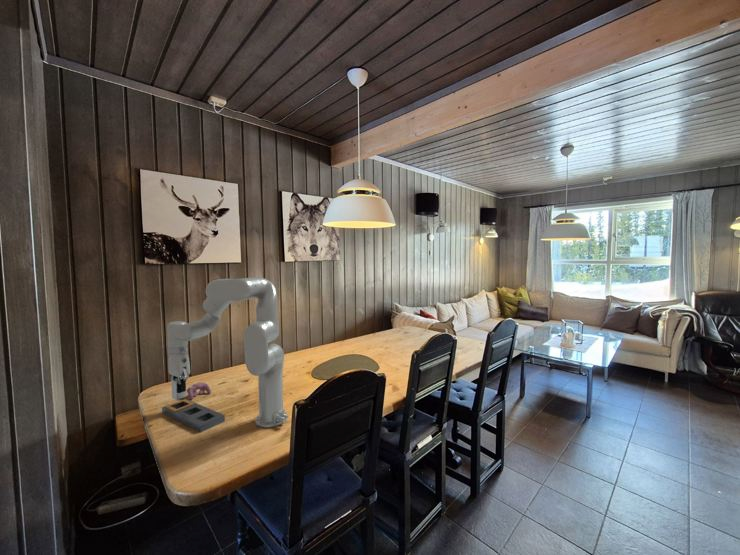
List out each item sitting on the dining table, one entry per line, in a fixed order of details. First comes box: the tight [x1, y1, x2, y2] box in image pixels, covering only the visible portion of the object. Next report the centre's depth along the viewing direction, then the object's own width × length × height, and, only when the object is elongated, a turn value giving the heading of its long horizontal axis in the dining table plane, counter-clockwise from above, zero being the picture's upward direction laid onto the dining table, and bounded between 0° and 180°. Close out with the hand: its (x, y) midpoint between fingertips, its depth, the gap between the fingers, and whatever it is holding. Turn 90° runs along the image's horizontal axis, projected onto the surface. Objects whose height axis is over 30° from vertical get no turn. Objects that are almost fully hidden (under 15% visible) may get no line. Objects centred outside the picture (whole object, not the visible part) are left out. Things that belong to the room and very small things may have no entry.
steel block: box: [170, 377, 187, 401], centre depth 136 cm, size 4×4×8 cm
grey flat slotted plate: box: [161, 398, 226, 433], centre depth 131 cm, size 30×10×3 cm, turn 58°
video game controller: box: [186, 382, 212, 401], centre depth 153 cm, size 10×5×7 cm, turn 141°
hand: (178, 390), depth 136 cm, fingers closed on steel block, 4 cm apart
